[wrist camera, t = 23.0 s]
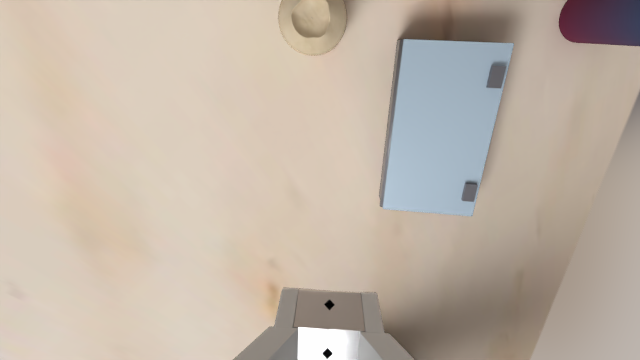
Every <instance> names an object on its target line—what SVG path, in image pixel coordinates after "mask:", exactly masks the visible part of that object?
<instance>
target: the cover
mask: <svg viewBox="0 0 640 360" xmlns="http://www.w3.org/2000/svg"><path fill="white" fill-rule="evenodd" d="M513 46H514V43H492V42H465V41H439V40H413V39H400V41H399V49H398V58H397V66H396V74H395V83H394V91H393V99H392V108H391V116H390V124H389V133H388V141H387V149H386V158H385V166H384V174H383V182H382V191H381V199H380V207H383V209H389V210H401V211H414V212H426V213H438V214H450V215H462V216H472V215H473V211H474V207H475V203H476V199H477V194H478V190H479V186H480V182H481V178H482V174H483V170H484V166H485V161H486V157H487V153H488V149H489V145H490V141H491V137H492V133H493V128H494V124H495V120H496V116H497V112H498V108H499V104H500V100H501V95H502V91H503V87H504V83H505V79H506V75H507V71H508V67H509V62H510V58H511V54H512V50H513Z"/></svg>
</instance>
